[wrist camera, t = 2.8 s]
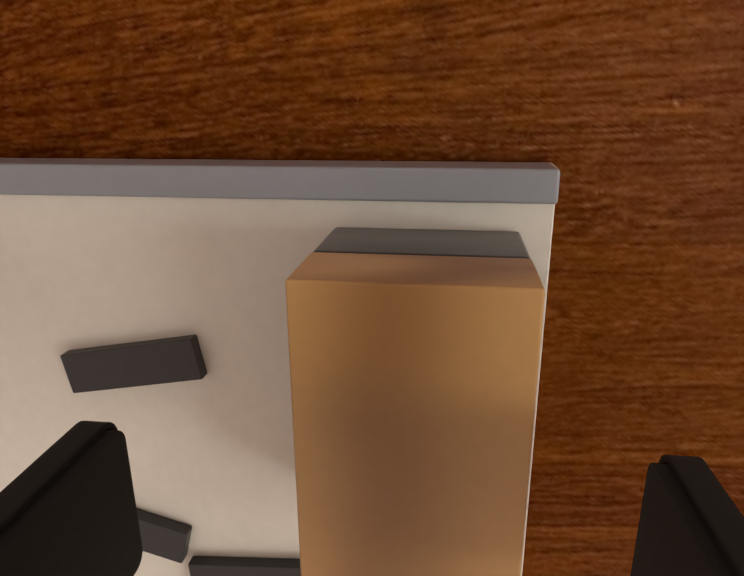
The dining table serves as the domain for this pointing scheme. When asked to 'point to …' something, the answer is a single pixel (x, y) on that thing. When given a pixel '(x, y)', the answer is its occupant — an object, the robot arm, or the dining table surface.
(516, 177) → the whiteboard
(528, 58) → the dining table surface
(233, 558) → the bar
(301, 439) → the eraser
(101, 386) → the block
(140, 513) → the marker stroke
